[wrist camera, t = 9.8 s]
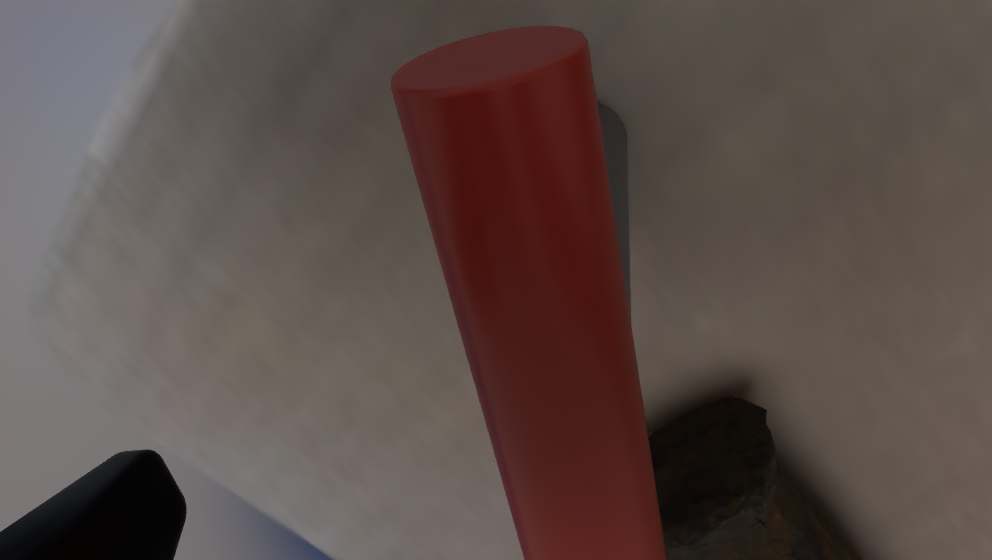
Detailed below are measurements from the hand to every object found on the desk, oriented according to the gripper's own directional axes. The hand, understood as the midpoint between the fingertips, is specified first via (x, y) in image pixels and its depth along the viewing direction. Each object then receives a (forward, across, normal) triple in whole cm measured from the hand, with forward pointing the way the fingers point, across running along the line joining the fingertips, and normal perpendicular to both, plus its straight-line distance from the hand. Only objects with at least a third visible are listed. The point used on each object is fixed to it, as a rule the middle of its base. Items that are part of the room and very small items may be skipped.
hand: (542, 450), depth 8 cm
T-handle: (+9, 0, 0) cm, 9 cm away
